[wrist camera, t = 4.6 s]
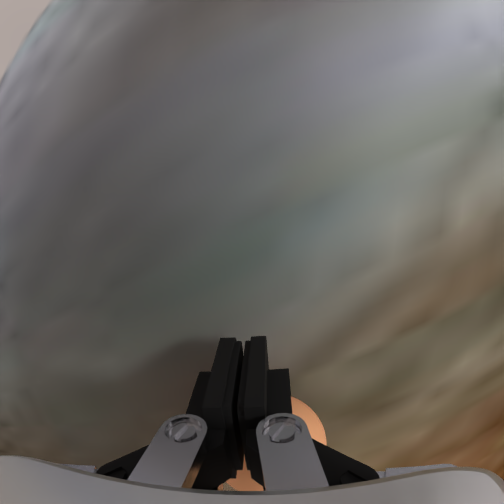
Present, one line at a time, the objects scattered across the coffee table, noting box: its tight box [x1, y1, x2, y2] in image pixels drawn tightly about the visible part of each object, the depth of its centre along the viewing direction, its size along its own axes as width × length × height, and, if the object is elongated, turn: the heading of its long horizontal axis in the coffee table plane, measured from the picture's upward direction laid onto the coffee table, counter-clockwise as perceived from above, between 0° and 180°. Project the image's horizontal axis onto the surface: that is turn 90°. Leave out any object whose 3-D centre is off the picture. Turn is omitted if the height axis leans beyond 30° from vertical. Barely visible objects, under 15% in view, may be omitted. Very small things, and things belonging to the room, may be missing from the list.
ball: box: [226, 396, 326, 491], centre depth 12 cm, size 5×5×5 cm
